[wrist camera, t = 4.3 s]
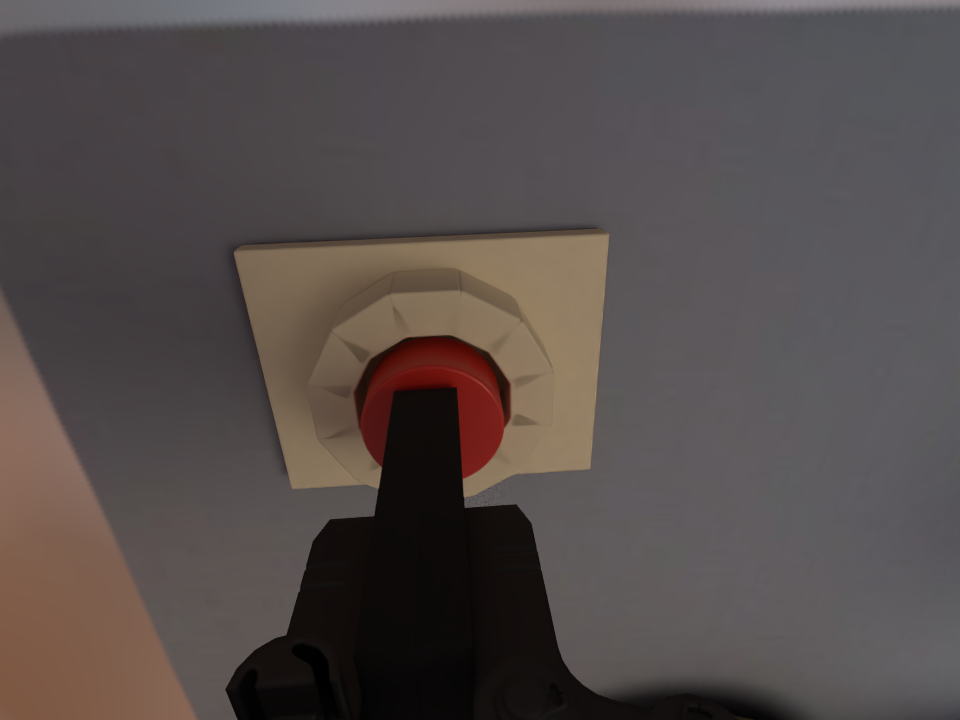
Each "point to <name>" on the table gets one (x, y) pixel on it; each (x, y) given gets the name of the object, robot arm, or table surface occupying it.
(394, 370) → the power button
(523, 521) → the robot arm
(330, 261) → the cream button plate
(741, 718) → the green plate
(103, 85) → the table surface
